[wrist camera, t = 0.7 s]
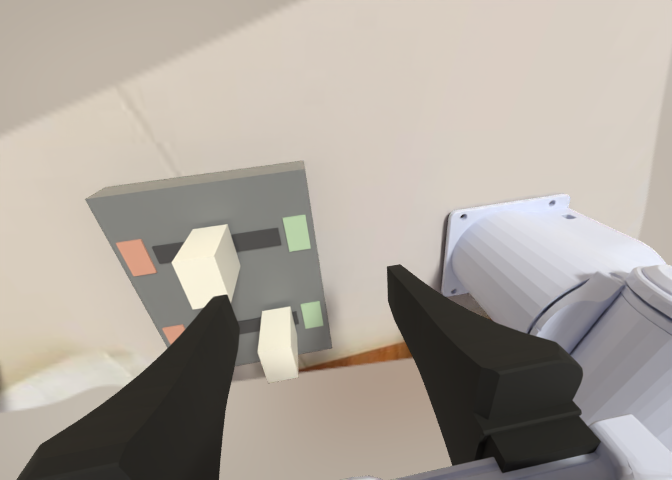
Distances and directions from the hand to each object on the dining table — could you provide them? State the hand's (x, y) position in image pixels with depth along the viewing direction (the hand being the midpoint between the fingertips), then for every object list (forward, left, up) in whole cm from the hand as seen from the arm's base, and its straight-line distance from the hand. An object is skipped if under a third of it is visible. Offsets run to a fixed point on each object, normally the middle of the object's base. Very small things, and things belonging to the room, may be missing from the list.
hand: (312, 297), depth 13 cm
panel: (+5, +3, -8) cm, 11 cm away
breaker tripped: (+5, 0, -6) cm, 8 cm away
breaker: (+3, +7, -6) cm, 10 cm away
